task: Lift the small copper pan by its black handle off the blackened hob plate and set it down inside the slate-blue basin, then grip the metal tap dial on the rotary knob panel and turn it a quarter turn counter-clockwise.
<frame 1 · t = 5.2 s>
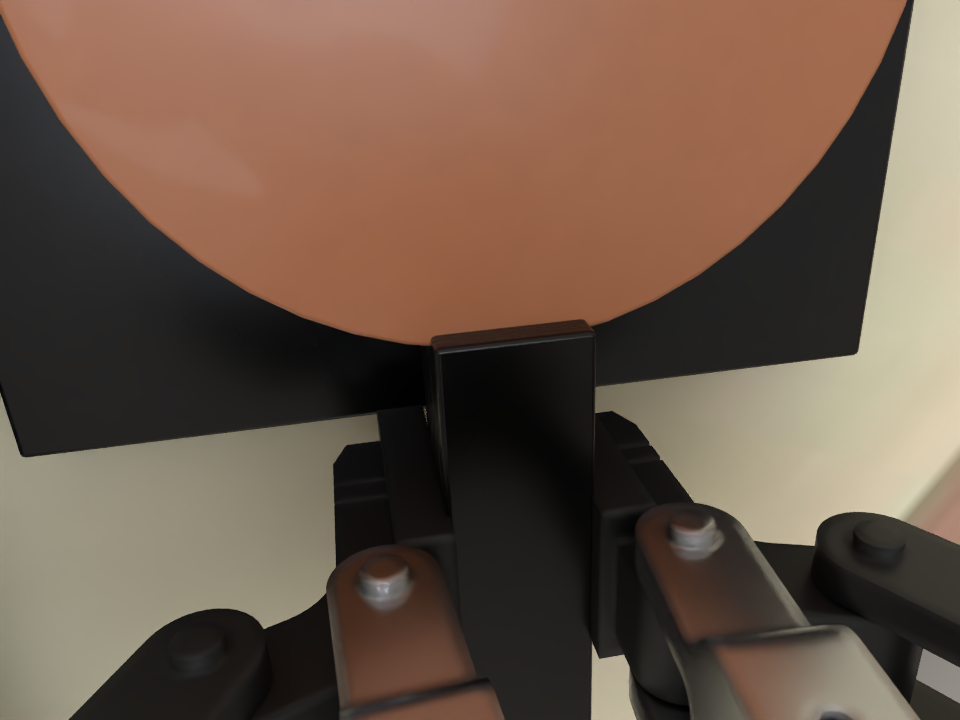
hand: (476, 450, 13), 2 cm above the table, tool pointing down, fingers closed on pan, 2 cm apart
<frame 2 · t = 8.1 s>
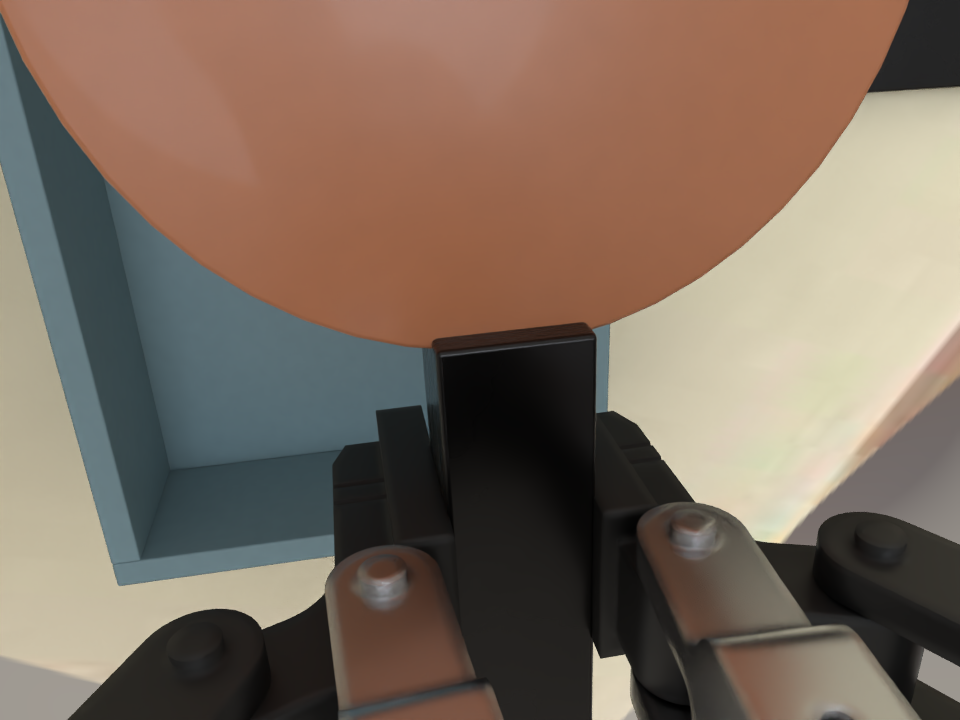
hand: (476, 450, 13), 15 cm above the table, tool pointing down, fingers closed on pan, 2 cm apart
basin: (325, 122, 25), on the table
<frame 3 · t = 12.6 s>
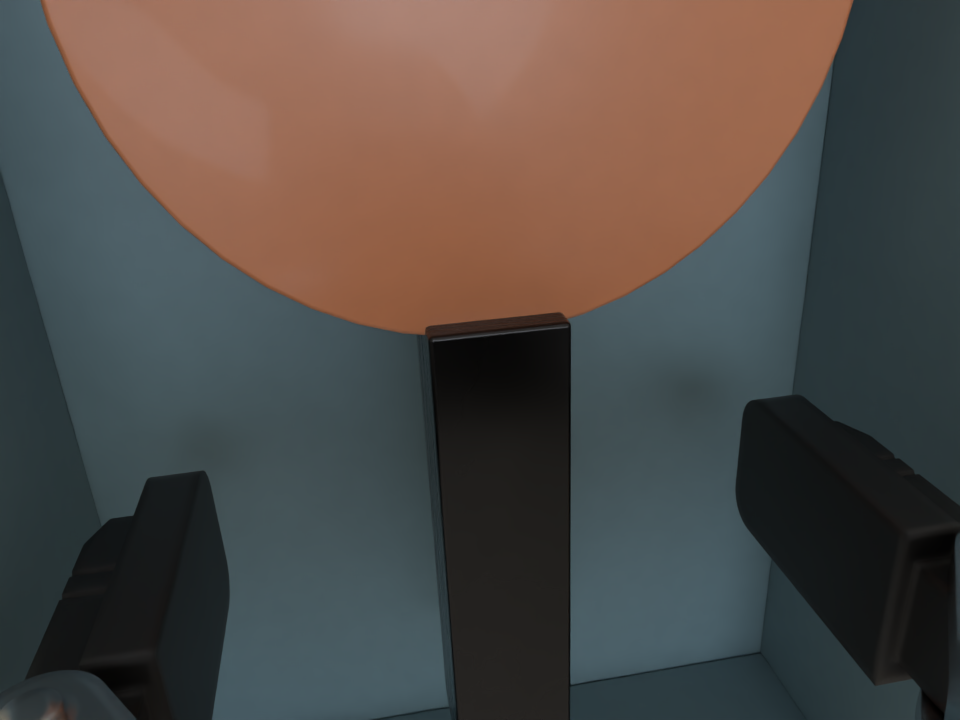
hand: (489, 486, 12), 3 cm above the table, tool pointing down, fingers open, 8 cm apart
basin: (442, 187, 14), on the table
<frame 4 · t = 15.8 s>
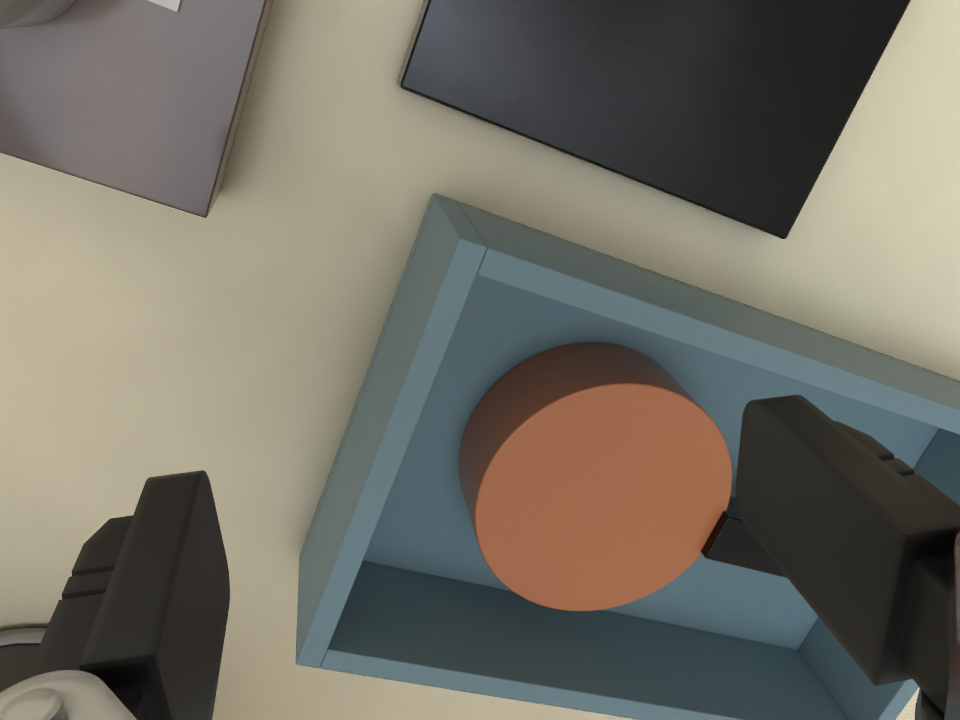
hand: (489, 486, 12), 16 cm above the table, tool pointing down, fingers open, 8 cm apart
basin: (647, 467, 32), on the table
pan: (576, 452, 30), point 1 cm above the table, touching basin
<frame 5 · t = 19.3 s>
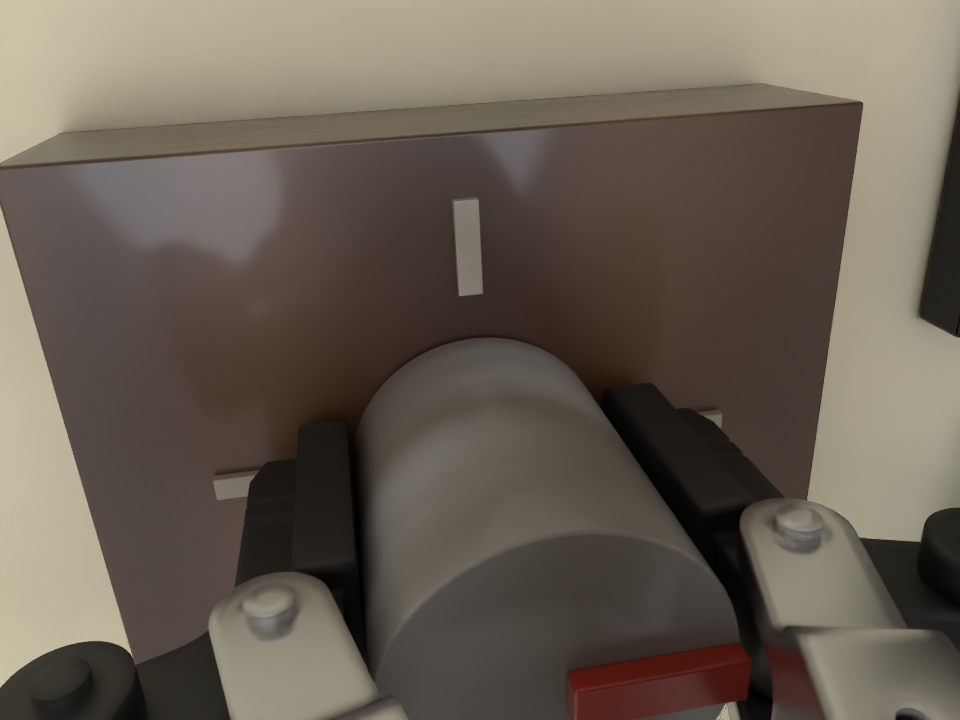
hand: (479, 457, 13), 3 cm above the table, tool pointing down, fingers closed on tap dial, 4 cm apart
tap dial: (514, 553, 11), point 6 cm above the table, hinge at -0.5°, touching gripper
rotary knob panel: (451, 373, 16), on the table
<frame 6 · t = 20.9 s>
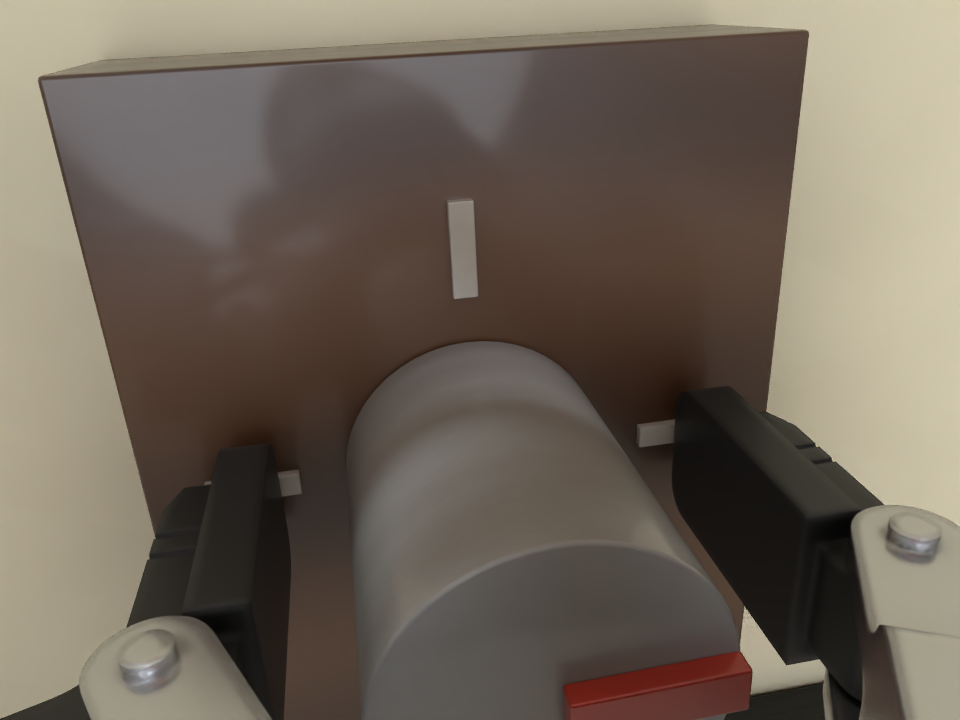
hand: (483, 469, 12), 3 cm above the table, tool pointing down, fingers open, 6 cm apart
tap dial: (509, 561, 10), point 6 cm above the table, hinge at 91.1°
rotary knob panel: (446, 376, 16), on the table
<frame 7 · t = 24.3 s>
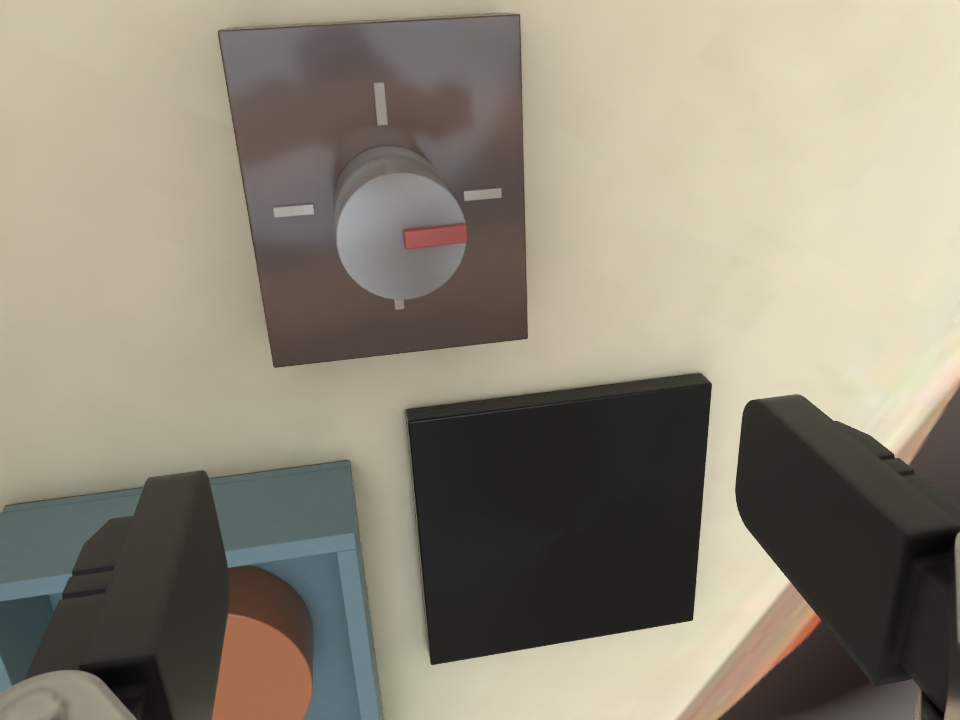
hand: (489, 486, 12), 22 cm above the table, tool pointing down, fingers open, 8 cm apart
tap dial: (395, 219, 27), point 6 cm above the table, hinge at 91.1°
hob: (558, 517, 40), on the table
basin: (229, 682, 40), on the table
rotary knob panel: (383, 184, 32), on the table
pan: (216, 638, 38), point 1 cm above the table, touching basin
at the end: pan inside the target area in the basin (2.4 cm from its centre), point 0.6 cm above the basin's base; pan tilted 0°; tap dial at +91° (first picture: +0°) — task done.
